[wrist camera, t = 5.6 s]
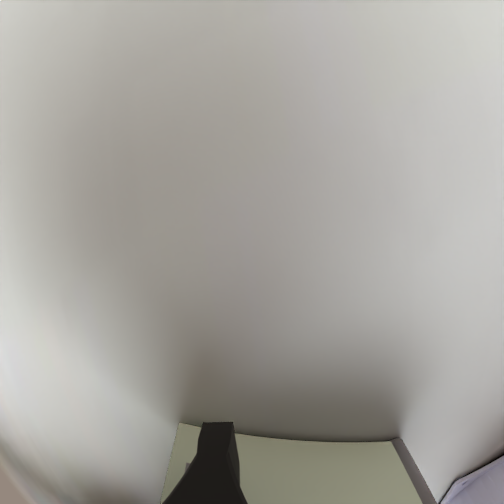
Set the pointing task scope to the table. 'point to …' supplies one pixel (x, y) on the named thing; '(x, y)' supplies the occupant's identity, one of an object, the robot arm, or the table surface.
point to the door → (312, 470)
